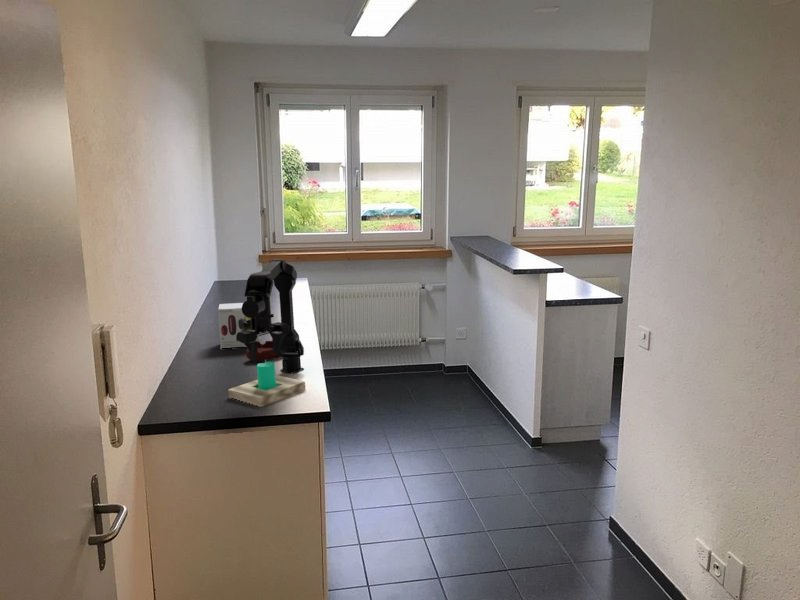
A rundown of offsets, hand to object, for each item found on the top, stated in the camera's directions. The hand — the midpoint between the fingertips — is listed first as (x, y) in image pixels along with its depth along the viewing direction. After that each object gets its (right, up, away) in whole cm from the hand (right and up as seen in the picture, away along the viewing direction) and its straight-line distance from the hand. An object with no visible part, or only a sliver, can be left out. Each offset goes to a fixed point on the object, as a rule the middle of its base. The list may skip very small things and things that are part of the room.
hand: (265, 356), depth 219 cm
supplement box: (-25, -1, +71) cm, 75 cm away
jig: (0, -13, +2) cm, 13 cm away
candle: (0, -13, +3) cm, 13 cm away
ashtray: (-9, -5, +50) cm, 51 cm away
